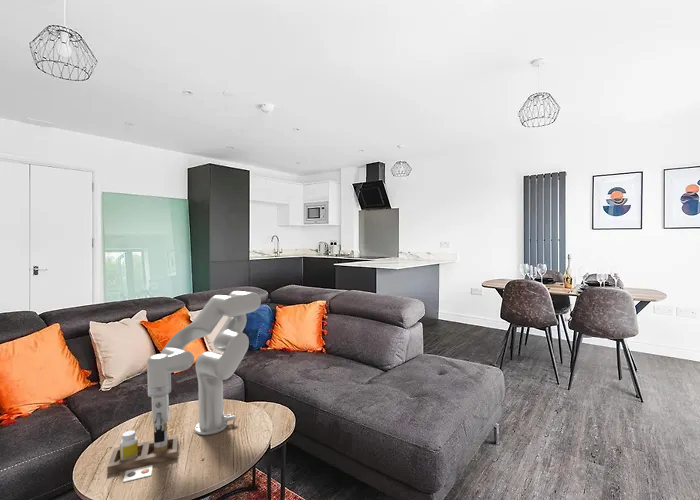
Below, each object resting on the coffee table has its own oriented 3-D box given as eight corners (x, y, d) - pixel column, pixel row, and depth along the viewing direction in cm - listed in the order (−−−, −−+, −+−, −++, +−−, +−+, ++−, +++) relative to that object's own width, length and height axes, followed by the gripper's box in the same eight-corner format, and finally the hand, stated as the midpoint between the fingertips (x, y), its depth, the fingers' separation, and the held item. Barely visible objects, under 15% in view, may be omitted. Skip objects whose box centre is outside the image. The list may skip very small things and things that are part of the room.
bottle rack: (177, 441, 140) (177, 435, 140) (176, 458, 129) (176, 451, 129) (114, 455, 132) (114, 448, 131) (107, 474, 121) (107, 467, 120)
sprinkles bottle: (152, 453, 132) (151, 417, 132) (164, 448, 136) (164, 413, 135) (157, 458, 129) (156, 421, 129) (170, 452, 133) (169, 416, 132)
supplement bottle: (141, 458, 130) (140, 431, 129) (126, 466, 125) (126, 438, 124) (131, 454, 132) (131, 428, 132) (116, 462, 127) (116, 435, 127)
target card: (152, 465, 125) (152, 464, 125) (151, 475, 120) (151, 474, 120) (126, 471, 122) (126, 470, 122) (122, 482, 116) (122, 481, 116)
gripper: (169, 396, 125) (170, 444, 126) (172, 379, 141) (172, 422, 142) (145, 400, 122) (146, 450, 123) (150, 382, 138) (151, 426, 139)
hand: (160, 435), depth 132 cm, fingers open, 9 cm apart
